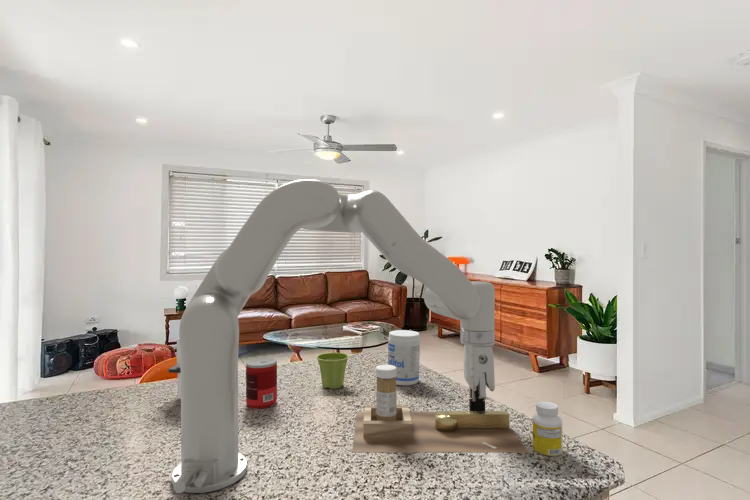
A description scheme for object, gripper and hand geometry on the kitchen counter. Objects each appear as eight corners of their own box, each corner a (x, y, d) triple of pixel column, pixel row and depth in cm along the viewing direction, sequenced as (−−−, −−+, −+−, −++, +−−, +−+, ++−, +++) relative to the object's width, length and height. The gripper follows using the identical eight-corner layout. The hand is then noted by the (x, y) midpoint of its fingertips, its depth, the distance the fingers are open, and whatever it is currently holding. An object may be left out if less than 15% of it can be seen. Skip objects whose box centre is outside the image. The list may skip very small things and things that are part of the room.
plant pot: (312, 383, 126) (312, 354, 126) (342, 379, 130) (342, 350, 130) (322, 393, 117) (322, 362, 117) (353, 388, 121) (353, 358, 121)
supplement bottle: (537, 445, 86) (537, 397, 86) (565, 454, 83) (566, 404, 83) (528, 455, 82) (528, 405, 82) (557, 465, 79) (557, 412, 79)
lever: (511, 431, 90) (511, 417, 90) (436, 431, 90) (436, 417, 90) (504, 421, 95) (504, 408, 95) (433, 421, 95) (433, 408, 95)
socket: (411, 438, 87) (411, 423, 87) (363, 438, 87) (363, 423, 87) (408, 418, 97) (408, 405, 97) (364, 418, 97) (364, 405, 97)
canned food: (281, 398, 113) (280, 357, 113) (270, 410, 105) (270, 366, 105) (253, 397, 114) (253, 356, 114) (241, 408, 106) (240, 365, 106)
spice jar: (389, 422, 95) (389, 362, 95) (400, 430, 91) (400, 367, 91) (372, 426, 93) (372, 365, 93) (382, 434, 89) (382, 370, 89)
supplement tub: (382, 383, 125) (382, 334, 125) (395, 374, 134) (395, 328, 134) (412, 388, 121) (412, 337, 121) (424, 379, 129) (424, 331, 129)
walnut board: (528, 457, 81) (528, 451, 81) (352, 457, 81) (352, 451, 81) (498, 415, 101) (498, 411, 101) (356, 415, 101) (356, 411, 101)
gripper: (504, 344, 88) (503, 431, 88) (485, 329, 103) (485, 405, 103) (468, 344, 88) (468, 432, 88) (454, 329, 103) (454, 405, 103)
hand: (477, 417), depth 96 cm, fingers closed
